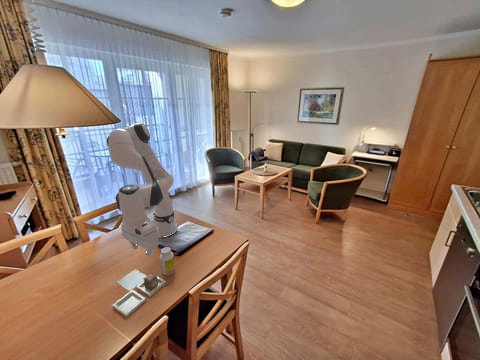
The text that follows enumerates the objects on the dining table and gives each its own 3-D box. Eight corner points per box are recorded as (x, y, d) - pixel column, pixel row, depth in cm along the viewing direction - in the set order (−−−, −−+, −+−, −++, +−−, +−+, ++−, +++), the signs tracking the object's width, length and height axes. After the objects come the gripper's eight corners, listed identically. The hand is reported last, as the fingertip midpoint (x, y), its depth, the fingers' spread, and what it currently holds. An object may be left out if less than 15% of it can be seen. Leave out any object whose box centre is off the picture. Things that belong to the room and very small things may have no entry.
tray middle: (136, 289, 97) (136, 286, 97) (153, 276, 105) (152, 273, 104) (150, 297, 93) (149, 294, 93) (166, 284, 101) (165, 280, 100)
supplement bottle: (177, 268, 111) (175, 247, 106) (170, 277, 105) (167, 255, 100) (166, 265, 112) (164, 244, 108) (158, 274, 106) (155, 252, 102)
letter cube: (145, 287, 98) (143, 278, 96) (152, 281, 101) (150, 272, 100) (151, 290, 96) (149, 281, 94) (158, 284, 99) (157, 275, 98)
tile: (116, 283, 101) (116, 282, 100) (135, 270, 109) (135, 269, 109) (129, 292, 96) (129, 291, 96) (148, 277, 104) (148, 276, 104)
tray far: (113, 308, 88) (112, 304, 88) (132, 292, 96) (132, 289, 95) (126, 318, 84) (125, 315, 84) (146, 301, 92) (145, 298, 91)
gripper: (114, 220, 91) (121, 248, 95) (144, 234, 81) (150, 264, 85) (128, 214, 96) (134, 240, 100) (158, 226, 86) (163, 255, 90)
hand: (141, 251), depth 93 cm, fingers open, 8 cm apart
